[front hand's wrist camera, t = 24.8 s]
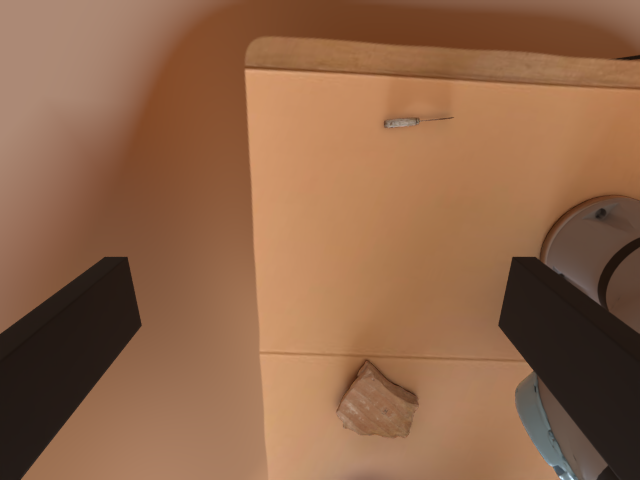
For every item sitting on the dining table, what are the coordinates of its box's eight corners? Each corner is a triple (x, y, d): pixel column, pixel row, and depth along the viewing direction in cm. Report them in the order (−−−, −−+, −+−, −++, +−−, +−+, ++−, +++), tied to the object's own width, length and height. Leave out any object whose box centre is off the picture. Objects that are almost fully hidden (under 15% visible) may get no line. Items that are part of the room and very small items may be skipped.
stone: (326, 410, 60) (327, 423, 57) (364, 358, 56) (366, 370, 54) (392, 437, 62) (395, 451, 60) (433, 389, 58) (438, 402, 56)
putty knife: (383, 119, 43) (385, 120, 42) (450, 111, 43) (455, 112, 42) (383, 128, 44) (385, 129, 42) (450, 120, 43) (455, 121, 42)
